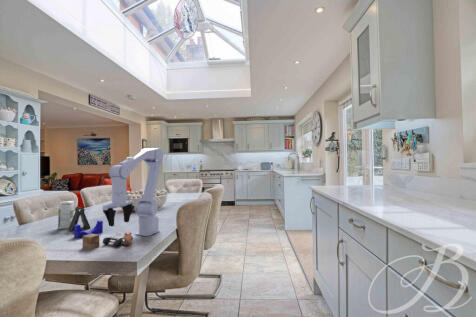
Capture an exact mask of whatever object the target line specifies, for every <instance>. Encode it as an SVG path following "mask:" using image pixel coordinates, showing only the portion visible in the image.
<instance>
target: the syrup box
mask: <svg viewBox="0 0 476 317" xmlns="http://www.w3.org/2000/svg"><path fill="white" fill-rule="evenodd" d="M74 214H75V201H74V200H64V201H61V202H59V203H58V222H57V225H58V226H57V230H66V229H69V226H70V224H71V221H72V219H73V216H74Z"/></svg>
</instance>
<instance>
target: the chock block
mask: <svg viewBox="0 0 476 317" xmlns="http://www.w3.org/2000/svg"><path fill="white" fill-rule="evenodd" d="M99 247H100V234H88V235H85V236H83V238H82V248H83V249H87V250H92V249H93V250H94V249H95V248H96V249H97V248H99Z"/></svg>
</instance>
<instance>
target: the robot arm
mask: <svg viewBox="0 0 476 317" xmlns="http://www.w3.org/2000/svg"><path fill="white" fill-rule="evenodd" d="M163 158H164V152H163V149H162V148H160V147H156V148H155V147H151V148H150V147H149V148H146V147H143V148H142V149H140V152H138V153H136V155H134V156H127V157H126V158H125V160H123V161H120V162H119V163H118V164H115V165H112V166H111V167H110V168H109V171H108V176H109V177H110V182H111V202H110V203H106V204H102V213H103V214H104V216H105V217H106V220H107V223H108V226H109V227H114V226H115V216H116V213H117V210H115V209H118V208H121V209H122V212H123V213H122V214H123V221H124V223H129V222H130V219H131V215H132V213H133V210H134V212H135V214H136V215H137V217H138V232H135V233H134V235H136V236H144V237H148V236H151V235H153V234H156V233H160V232H161V230H159V226H160V224H159V217H158V215H157V213H158V210H159V207H158V204H159V201H158V200H157V199H156V198H155V194H156V190H157V184H158V180H159V177H160V176H159V175H160V170H161V166H162V164H163ZM143 161H144V162H145V164H146V165H147V166H148V167H149V170H148V174H147V179H146V181H145V186H144V192H143V196H141V197H140V198H138V199H137V203H136V205H135V200H132V199H130V200H127V184H128V183H127V178H129V176H130V174H131V172H133V171H134V170H135V169H137V167H138V166H139V163H141V162H143Z"/></svg>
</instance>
